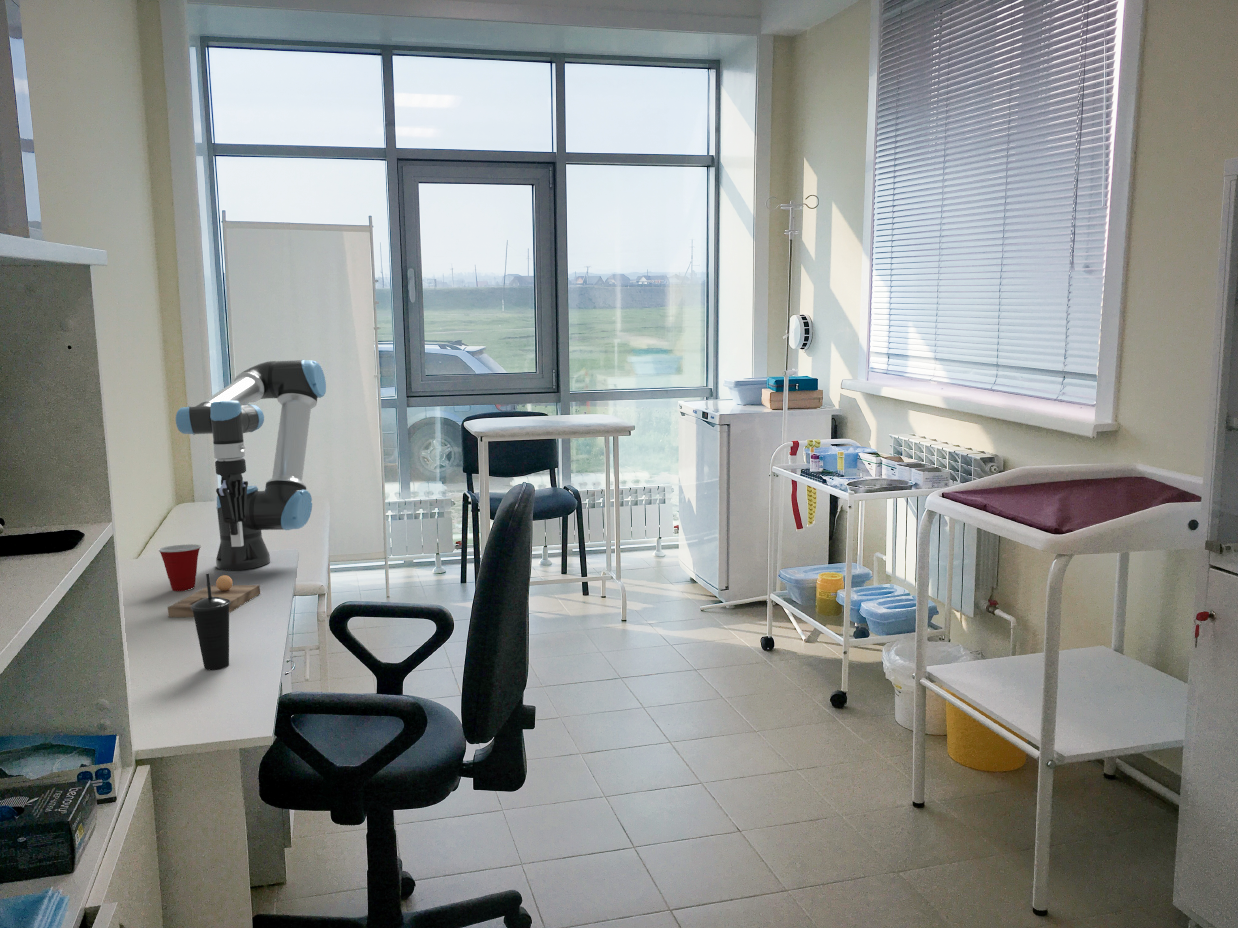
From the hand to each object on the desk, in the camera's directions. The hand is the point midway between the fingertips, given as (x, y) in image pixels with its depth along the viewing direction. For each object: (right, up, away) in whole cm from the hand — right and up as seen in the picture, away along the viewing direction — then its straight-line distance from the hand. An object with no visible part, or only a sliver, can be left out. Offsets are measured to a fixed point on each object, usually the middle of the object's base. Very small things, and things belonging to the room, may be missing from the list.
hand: (237, 545), depth 264 cm
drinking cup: (+18, -21, -57) cm, 64 cm away
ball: (-1, -9, -7) cm, 12 cm away
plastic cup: (-17, -12, +6) cm, 22 cm away
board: (-1, -14, -12) cm, 18 cm away
